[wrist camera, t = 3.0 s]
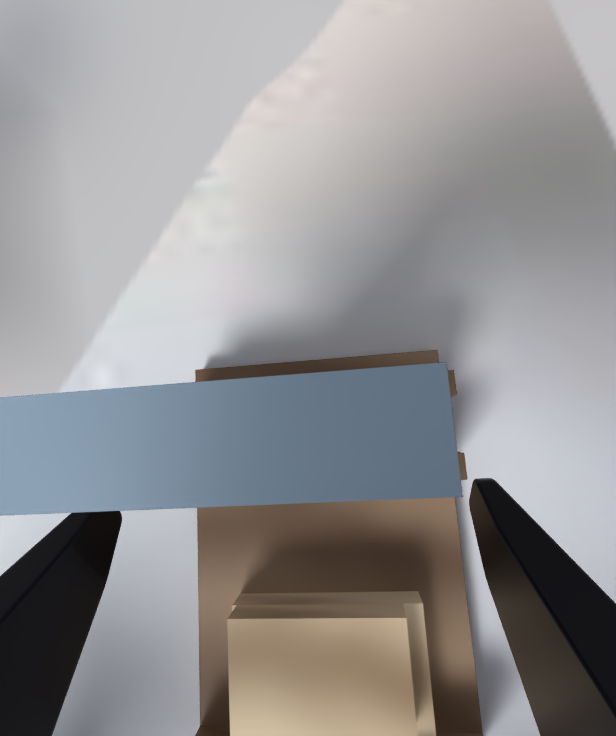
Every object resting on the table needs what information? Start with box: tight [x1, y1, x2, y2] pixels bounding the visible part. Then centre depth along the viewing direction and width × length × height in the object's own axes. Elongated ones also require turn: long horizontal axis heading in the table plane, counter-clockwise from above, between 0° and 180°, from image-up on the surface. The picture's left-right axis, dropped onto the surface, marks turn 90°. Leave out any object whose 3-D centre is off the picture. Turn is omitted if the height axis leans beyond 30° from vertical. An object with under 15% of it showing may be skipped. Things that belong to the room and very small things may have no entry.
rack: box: [195, 350, 483, 736], centre depth 17 cm, size 17×12×3 cm
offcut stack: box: [227, 591, 436, 736], centre depth 16 cm, size 5×8×2 cm, turn 94°
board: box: [0, 362, 463, 516], centre depth 12 cm, size 2×6×14 cm, turn 94°
